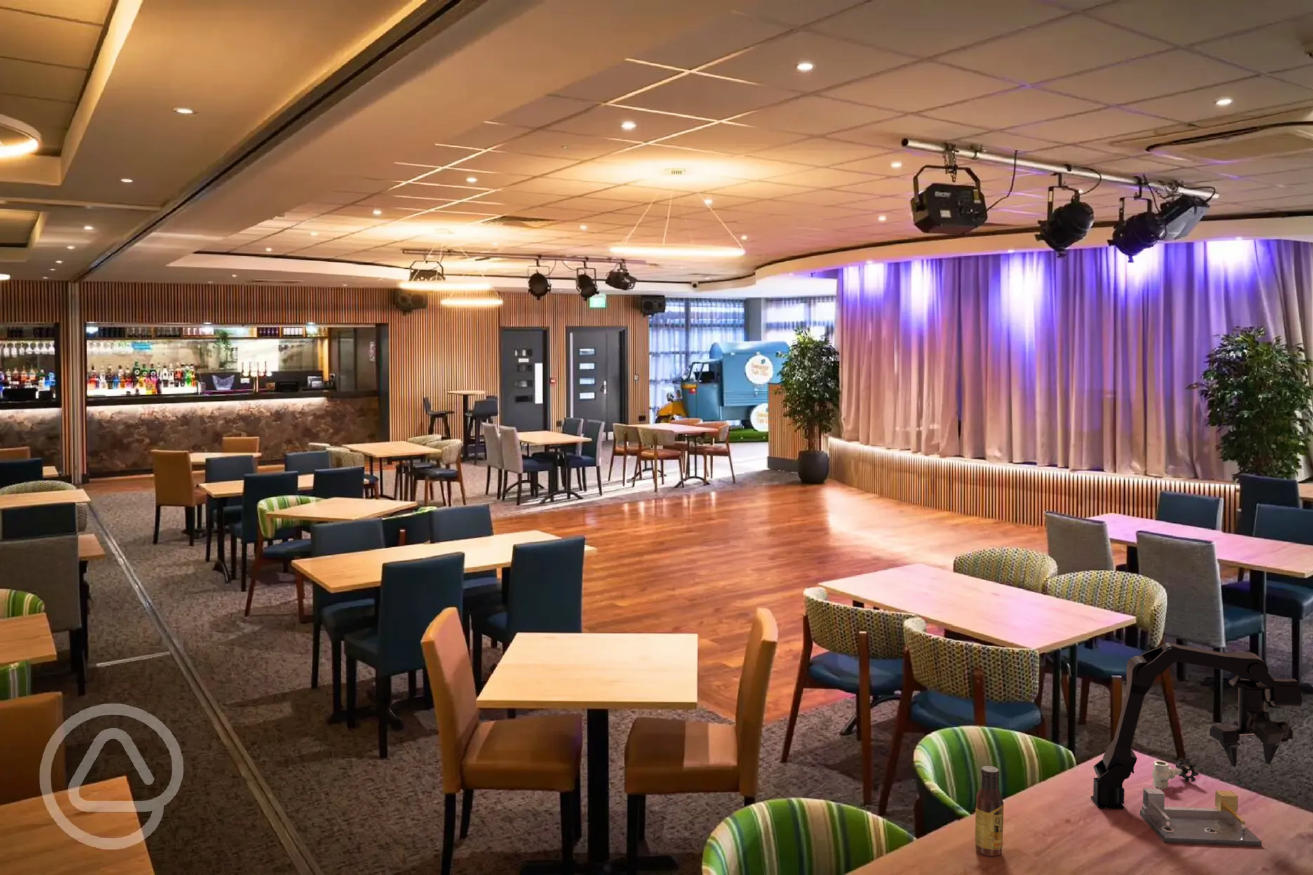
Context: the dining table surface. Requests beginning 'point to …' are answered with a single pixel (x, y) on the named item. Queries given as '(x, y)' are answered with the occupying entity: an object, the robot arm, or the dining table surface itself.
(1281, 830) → the dining table surface
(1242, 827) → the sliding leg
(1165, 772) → the valve
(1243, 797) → the dining table surface
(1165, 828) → the bolt plate dividers
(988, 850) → the sauce bottle
